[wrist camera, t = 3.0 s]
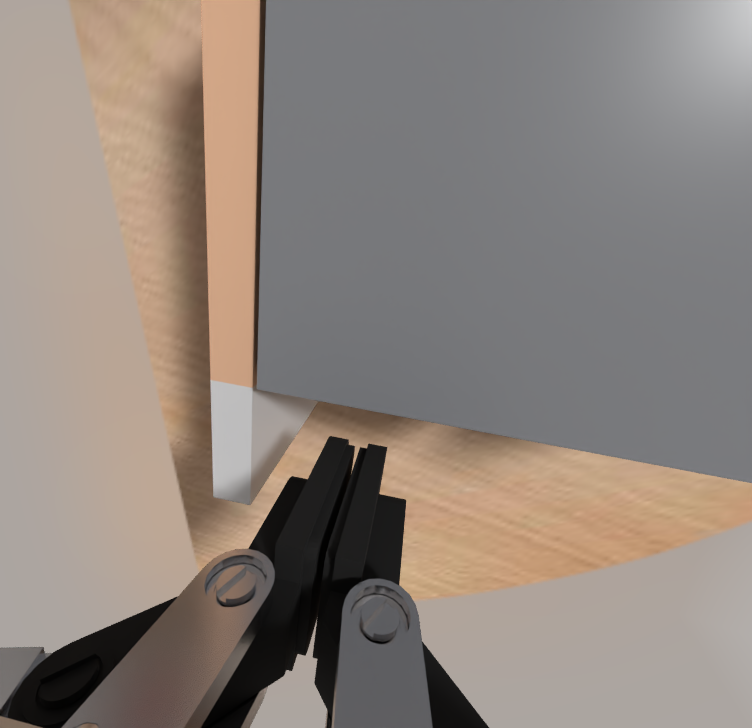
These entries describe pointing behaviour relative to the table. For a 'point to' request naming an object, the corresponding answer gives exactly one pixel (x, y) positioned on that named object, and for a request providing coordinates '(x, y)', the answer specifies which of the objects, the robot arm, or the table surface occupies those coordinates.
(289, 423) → the door
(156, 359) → the table surface
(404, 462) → the table surface
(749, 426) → the grey smooth box
